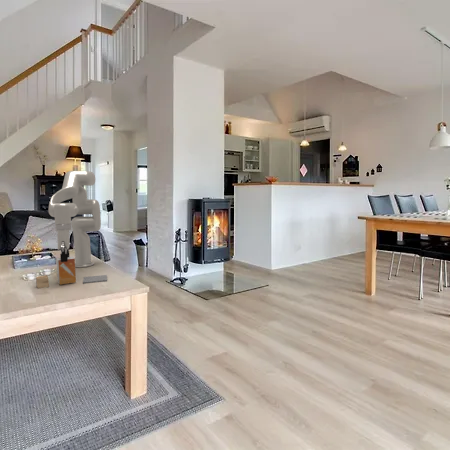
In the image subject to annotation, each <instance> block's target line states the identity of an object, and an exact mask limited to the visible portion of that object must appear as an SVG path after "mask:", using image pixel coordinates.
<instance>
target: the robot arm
mask: <svg viewBox="0 0 450 450" xmlns="http://www.w3.org/2000/svg"><path fill="white" fill-rule="evenodd" d="M95 183H96V176H95V173H94V172H92V171H89V170H69V171H67V172H66V173H65V174H64V179H63V183H62V187H61V189H58V191H56V192H55V193H54V194H53V195H52V196H51V198H50V201H49V204H48V215H50V217H52V218H54V228H55V231H56V232H57V250H58V251H59V250H60V254H59V255H60V256H59V258H61V262H67V261H68V257H70V246H71V245H70V231H72V235H73V247H74V258H75V268H86V267H91V266H94V264H95V262H93V261H92V253H91V250H92V249H91V238H90V236H89V234H88V233H86V232H98V231H100V230H101V227H102V225H101V224H102V223H101V221H102V220H101V207H100V206H101V205H100V202H99V200H97V199H95V198H94V199H93V198H91V199H88V196H87V195H88V193H87V190H86V189H85V187H83V186H92V187H93V186H94V185H95ZM71 199H72V202H64V201H67V200H71ZM77 215H91V216H77ZM72 217H73V218H72Z"/></svg>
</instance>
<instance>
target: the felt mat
mask: <svg viewBox="0 0 450 450" xmlns="http://www.w3.org/2000/svg"><path fill="white" fill-rule="evenodd" d="M103 282H104V283H105V282H108V274H101V275H92V276H91V275H90V276H84V277H83V280H82V284H92V283H94V284H95V283H103Z"/></svg>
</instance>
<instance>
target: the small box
mask: <svg viewBox="0 0 450 450" xmlns="http://www.w3.org/2000/svg"><path fill="white" fill-rule="evenodd" d="M56 274H57V283H58V285H59V286H60V285H67V284H76V283H77V277H76V267H75V256H69V257H68V261H67V262H61V257H57V258H56Z"/></svg>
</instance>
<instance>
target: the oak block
mask: <svg viewBox="0 0 450 450" xmlns="http://www.w3.org/2000/svg"><path fill="white" fill-rule="evenodd" d="M35 280H36V281H35V282H36V288H37V289H42V288H49V287H50V283H49V281H50V280H49V276H48V275H41V276H36V277H35Z"/></svg>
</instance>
